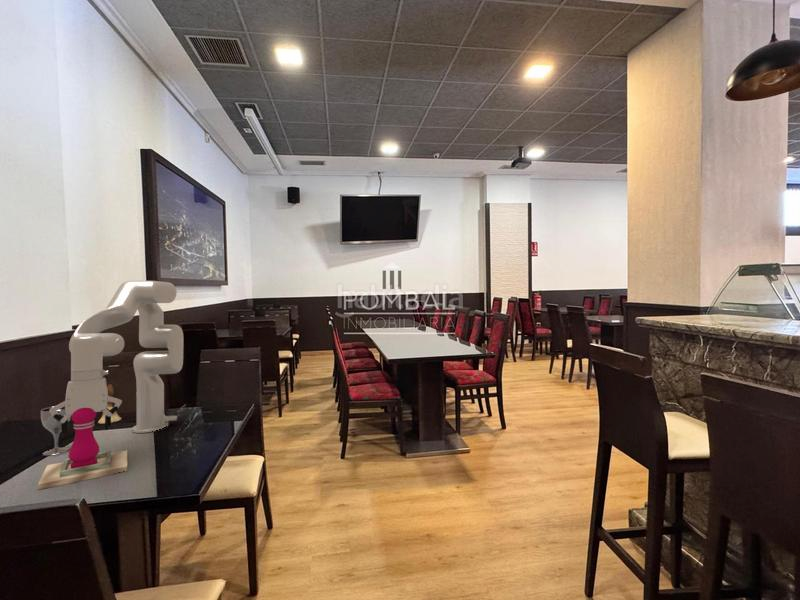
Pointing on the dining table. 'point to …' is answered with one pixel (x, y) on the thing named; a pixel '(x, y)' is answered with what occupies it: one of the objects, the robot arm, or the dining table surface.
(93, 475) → the board
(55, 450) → the wine glass
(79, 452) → the pepper mill
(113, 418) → the hand bell
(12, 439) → the dining table surface
